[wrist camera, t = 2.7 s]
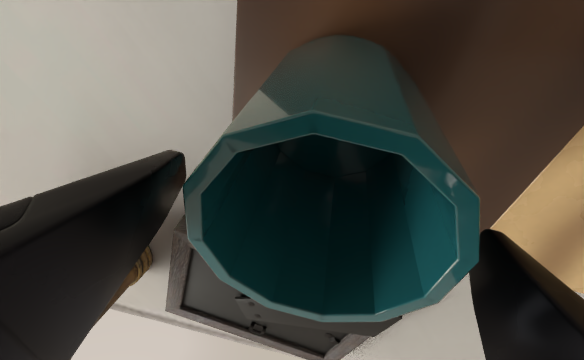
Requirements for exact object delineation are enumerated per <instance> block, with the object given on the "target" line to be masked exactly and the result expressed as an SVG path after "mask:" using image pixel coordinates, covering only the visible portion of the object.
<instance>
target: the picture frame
mask: <svg viewBox="0 0 584 360" xmlns="http://www.w3.org/2000/svg"><path fill="white" fill-rule="evenodd" d="M165 311H167V312H170V313H173V314H176V315H179V316H182V317H185V318H187V319H190V320H193V321H196V322H199V323H202V324H205V325H208V326H211V327H214V328H217V329H220V330H223V331H225V332H228V333H231V334H234V335H237V336H240V337H243V338H246V339H249V340H252V341H255V342H258V343H261V344H263V345H266V346H269V347H272V348H275V349H278V350H281V351H284V352H287V353H290V354H293V355H296V356H299V357H301V358H304V359H307V360H340V359H342V358H343V357H344V356H346V355H347V354H348V353H350V352H351V351H352V350H353V349H355V348H356V347H357V346H359V345H360V344H361V343H363V342H364V341H365V340H367V339H368V338H369V337H375V336H376V335H378V334H379V333H381V332H382V331H384V330H385V329H387V328H388V327H390V326H392V325H393V324H395V323H396V322H398V321H399V320H401V319H402V315H401V316H398V317H395V318H392V319H389V320H386V321H383V322H319V321H315V320H312V319H308V318H304V317H300V316H297V315H293V314H289V313H285V312H281V311H278V310H274V309H270V308H267V307H265V306H263V305H261V304H260V303H258V302H256V301H255V300H253V299H251V298H250V297H248V296H246V295H245V294H243V293H241V292H240V291H238V290H236V289H235V288H233V287H231V286H230V285H228V284H226V283H225V282H223V281H221V280H220V279H219V278H218V277H217V276H216V274H215V273H214V272H213V271H212V269H211V268H210V267H209V265H208V264H207V263H206V262H205V260H204V259H203V258H202V257H201V255H200V254H199V253H198V251H197V250H196V249H195V248H194V246H193V245H192V244H191V242H190V241H189V240H188V238H187V228H186V218H185V215H184V216H183V218H182V219H181V221H180V222H179V224H178V225H177V226H176V228H175V229H174V235H173V244H172V254H171V263H170V272H169V282H168V291H167V301H166V310H165Z"/></svg>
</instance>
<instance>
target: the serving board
mask: <svg viewBox="0 0 584 360" xmlns="http://www.w3.org/2000/svg"><path fill="white" fill-rule="evenodd" d="M332 35H348V36H355V37H360V38H363V39H366V40H370V41H372V42H374V43H376V44H379V45H382V46H384V48H385V49H386V50H387V51H389V52H390V53H391V54H392V55H393V56H394V57H395V58H396V59H397V60H398V61H399V63H400V64H401V65H402V67H403V68H404V69H405V71H406V72H407V73H408V74H409V75H410V76H411V77H412V78H413V79H414V81H415V83H416V85H417V87H418V88H419V90H420V92H421V94H422V95H423V97H424V99H425V101H426V103H427V104H428V106H429V108H430V110H431V111H432V113H433V115H434V117H435V119H436V120H437V122H438V124H439V126H440V127H441V129H442V131H443V133H444V134H445V136H446V138H447V140H448V142H449V143H450V145H451V147H452V149H453V150H454V152H455V154H456V156H457V158H458V159H459V161H460V163H461V165H462V166H463V168H464V170H465V172H466V174H467V175H468V177H469V179H470V181H471V182H472V184H473V186H474V188H475V189H476V191H477V193H478V195H479V197H480V233H481V232H482V231H483V230H485V229H492V230H496V231H500V232H502V233H504V234H505V235H506V236H508V237H509V238H510V239H511V240H512V241H514V242H515V243H516V244H517V245H518V246H520V247H521V248H522V249H523V250H525V251H526V252H527V253H528V254H529V255H531V256H532V257H533V258H534V259H535V260H537V261H538V262H539V263H540V264H541V265H543V266H544V267H545V268H546V269H548V270H549V271H550V272H551V273H552V274H554V275H555V276H556V277H557V278H558V279H560V280H561V281H562V282H563V283H564V284H566V285H567V286H568V287H569V288H571V289H572V290H573V291H576V292H580V293H584V0H237V23H236V46H235V70H234V94H233V117H232V122H233V121H234V119H235V118H236V117H237V116H238V114H239V113H240V112H241V111H242V109H243V108H244V107H245V106H246V104H247V103H248V102H249V101H250V99H251V98H252V97H253V96H254V95H255V93H256V92H257V91H258V90H259V88H260V87H261V86H262V85H263V83H264V82H265V81H266V80H267V78H268V77H269V76H270V75H271V73H272V72H273V71H274V70H275V68H276V67H277V66H278V65H279V63H280V62H281V61H282V60H283V58H284V57H285V56H286V55H287V53H288V52H289V51H290V50H293V49H296V48H298V47H300V46H301V45H303V44H305V43H307V42H310V41H312V40H315V39H318V38H322V37H326V36H332Z"/></svg>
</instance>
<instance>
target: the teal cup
mask: <svg viewBox="0 0 584 360" xmlns="http://www.w3.org/2000/svg"><path fill="white" fill-rule="evenodd" d="M183 197H184V207H185V218H186V228H187V238H188V240H189V241H190V242H191V244H192V245H193V246H194V248H195V249H196V250H197V251H198V253H199V254H200V255H201V257H202V258H203V259H204V260H205V262H206V263H207V264H208V265H209V267H210V268H211V269H212V271H213V272H214V273H215V274H216V276H217V277H218V278H219V279H220V280H221V281H223V282H225V283H226V284H228V285H230V286H231V287H233V288H235V289H236V290H238V291H240V292H241V293H243V294H245V295H246V296H248V297H250V298H251V299H253V300H255V301H256V302H258V303H260V304H261V305H263V306H265V307H267V308H270V309H274V310H278V311H281V312H285V313H289V314H293V315H297V316H300V317H304V318H308V319H312V320H315V321H319V322H383V321H386V320H389V319H392V318H395V317H398V316H401V315H404V314H407V313H410V312H413V311H416V310H419V309H422V308H425V307H428V306H431V305H434V304H437V303H439V302H440V301H441V300H442V299H443V298H444V297H445V296H446V295H447V294H448V293H449V292H450V291H451V290H452V289H453V288H454V287H455V286H456V285H457V284H458V283H459V282H460V281H461V280H462V279H463V278H464V277H465V276H466V275H467V274H468V272H469V271H470V270H471V269H472V268H473V267H474V266H475V265H476V264H477V263H478V262H479V259H480V197H479V195H478V193H477V191H476V189H475V188H474V186H473V184H472V182H471V181H470V179H469V177H468V175H467V174H466V172H465V170H464V168H463V166H462V165H461V163H460V161H459V159H458V158H457V156H456V154H455V152H454V150H453V149H452V147H451V145H450V143H449V142H448V140H447V138H446V136H445V134H444V133H443V131H442V129H441V127H440V126H439V124H438V122H437V120H436V119H435V117H434V115H433V113H432V111H431V110H430V108H429V106H428V104H427V103H426V101H425V99H424V97H423V95H422V94H421V92H420V90H419V88H418V87H417V85H416V83H415V81H414V79H413V78H412V77H411V76H410V75H409V74H408V73H407V72H406V71H405V69H404V68H403V67H402V65H401V64H400V63H399V61H398V60H397V59H396V58H395V57H394V56H393V55H392V54H391V53H390V52H389V51H387V50H386V49H385V48H384V46H382V45H379V44H376V43H374V42H372V41H370V40H366V39H363V38H360V37H355V36H348V35H332V36H326V37H322V38H318V39H315V40H312V41H310V42H307V43H305V44H303V45H301V46H300V47H298V48H296V49H293V50H290V51H289V52H288V53H287V55H286V56H285V57H284V58H283V60H282V61H281V62H280V63H279V65H278V66H277V67H276V68H275V70H274V71H273V72H272V73H271V75H270V76H269V77H268V78H267V80H266V81H265V82H264V83H263V85H262V86H261V87H260V88H259V90H258V91H257V92H256V93H255V95H254V96H253V97H252V98H251V99H250V101H249V102H248V103H247V104H246V106H245V107H244V108H243V109H242V111H241V112H240V113H239V114H238V116H237V117H236V118H235V119H234V121H233V122H232V123H231V124H230V126H229V127H228V128H227V129H226V131H225V132H224V133H223V134H222V136H221V137H220V138H219V139H218V141H217V142H216V143H215V145H214V146H213V147H212V148H211V150H210V151H209V152H208V154H207V155H206V156H205V157H204V159H203V160H202V161H201V163H200V164H199V165H198V167H197V168H196V169H195V170H194V172H193V173H192V174H191V176H190V177H189V178H188V179H187V181H186V182H185V183H184V185H183Z"/></svg>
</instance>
